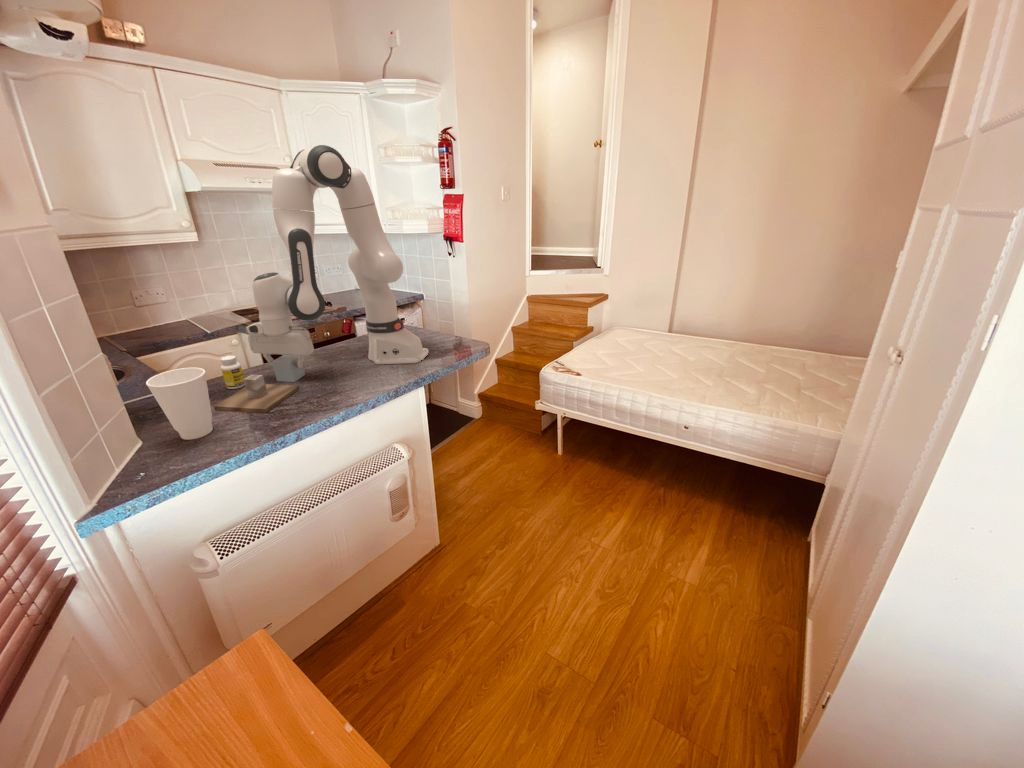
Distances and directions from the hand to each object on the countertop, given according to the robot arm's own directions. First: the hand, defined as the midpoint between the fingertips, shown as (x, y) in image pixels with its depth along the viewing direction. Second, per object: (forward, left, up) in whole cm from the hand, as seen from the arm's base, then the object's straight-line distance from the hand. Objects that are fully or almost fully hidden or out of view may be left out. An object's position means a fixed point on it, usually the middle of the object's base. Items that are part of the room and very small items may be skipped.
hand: (286, 366), depth 140 cm
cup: (+3, +35, -5) cm, 36 cm away
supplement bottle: (+14, +7, -5) cm, 16 cm away
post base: (0, +15, -4) cm, 16 cm away
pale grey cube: (0, -1, -4) cm, 4 cm away
